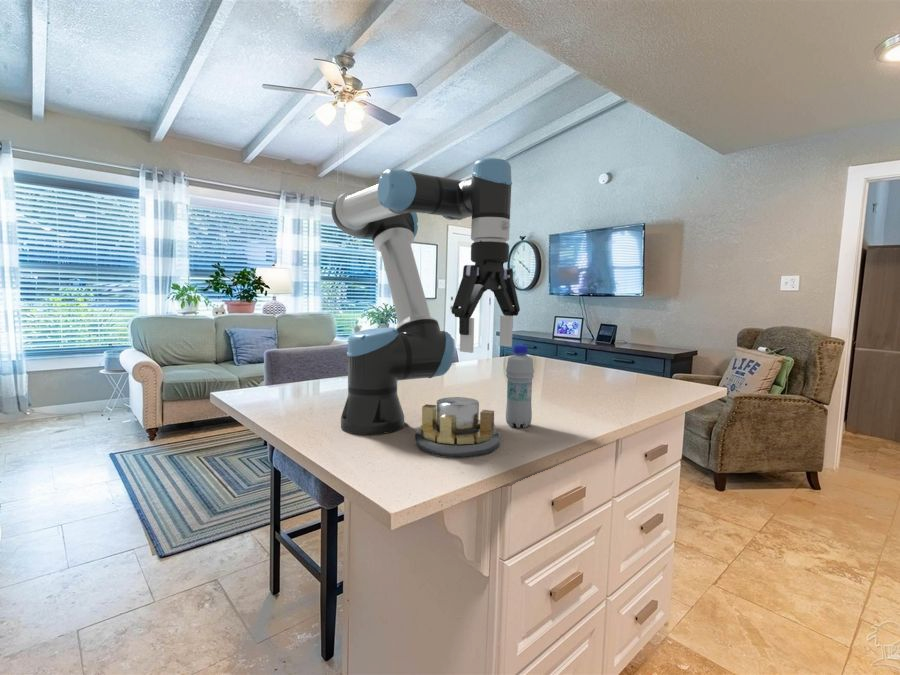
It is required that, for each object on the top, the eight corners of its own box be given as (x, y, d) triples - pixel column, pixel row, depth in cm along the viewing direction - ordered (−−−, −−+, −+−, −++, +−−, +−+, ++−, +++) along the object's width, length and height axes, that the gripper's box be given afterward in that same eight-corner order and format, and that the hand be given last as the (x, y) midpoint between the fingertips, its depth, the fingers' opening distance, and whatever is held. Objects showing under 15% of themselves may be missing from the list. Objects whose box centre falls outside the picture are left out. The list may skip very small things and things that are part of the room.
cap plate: (401, 451, 92) (401, 407, 91) (433, 427, 109) (433, 390, 108) (487, 462, 86) (488, 416, 85) (507, 435, 103) (507, 396, 102)
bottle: (531, 430, 107) (534, 346, 106) (503, 428, 109) (505, 345, 107) (532, 422, 114) (535, 343, 112) (505, 420, 115) (507, 342, 114)
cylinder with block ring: (409, 438, 93) (410, 414, 92) (436, 419, 107) (436, 398, 107) (483, 447, 88) (483, 421, 87) (500, 426, 102) (500, 403, 102)
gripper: (466, 234, 78) (463, 357, 80) (538, 246, 97) (534, 345, 99) (433, 236, 82) (431, 352, 85) (508, 248, 101) (505, 342, 104)
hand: (487, 349), depth 92 cm, fingers open, 13 cm apart
